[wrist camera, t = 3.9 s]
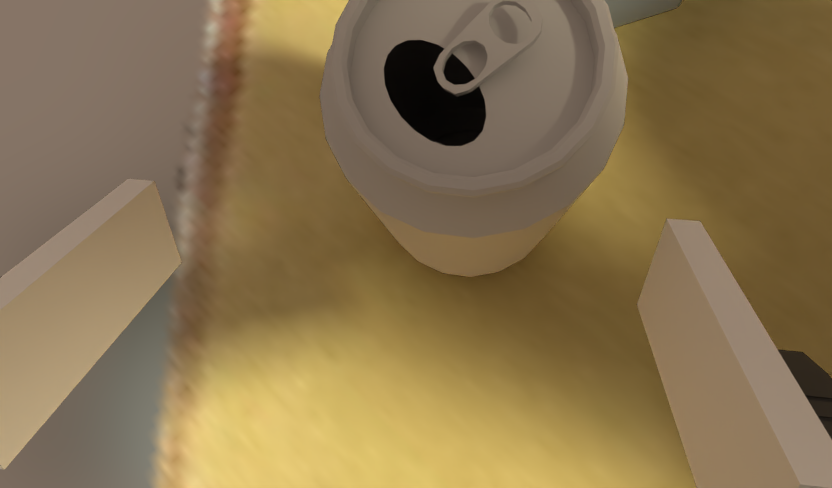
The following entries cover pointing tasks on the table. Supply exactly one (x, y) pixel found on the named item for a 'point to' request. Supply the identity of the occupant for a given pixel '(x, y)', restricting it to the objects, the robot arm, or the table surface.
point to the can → (472, 119)
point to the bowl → (638, 9)
